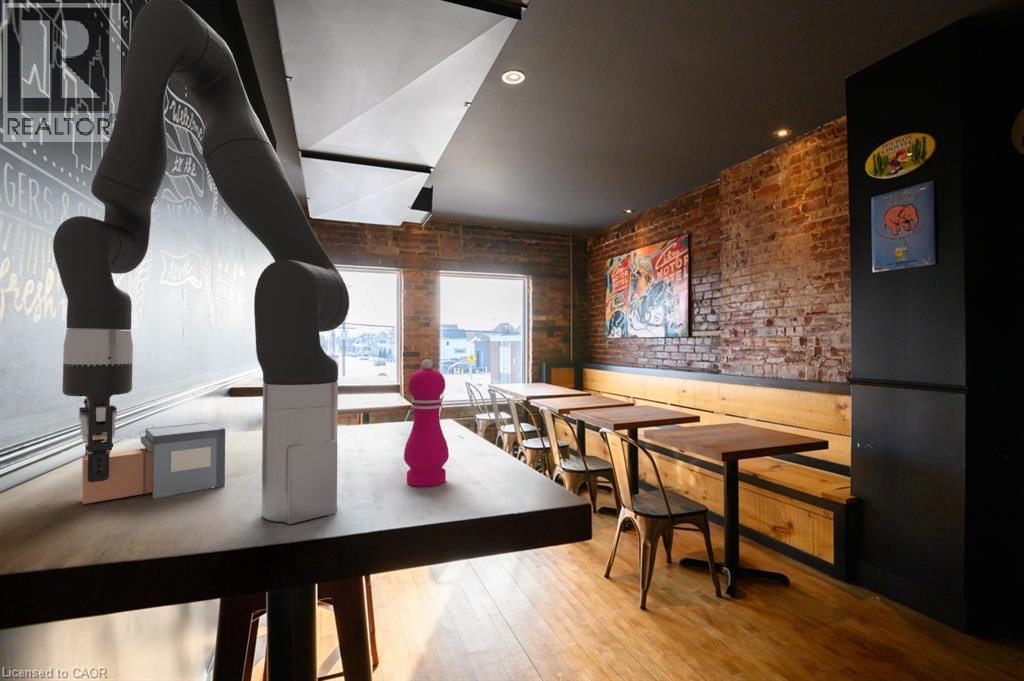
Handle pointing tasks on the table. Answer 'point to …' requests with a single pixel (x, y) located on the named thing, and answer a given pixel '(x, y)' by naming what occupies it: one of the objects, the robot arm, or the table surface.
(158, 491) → the block
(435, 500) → the table surface
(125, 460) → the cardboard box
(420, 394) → the pepper mill
